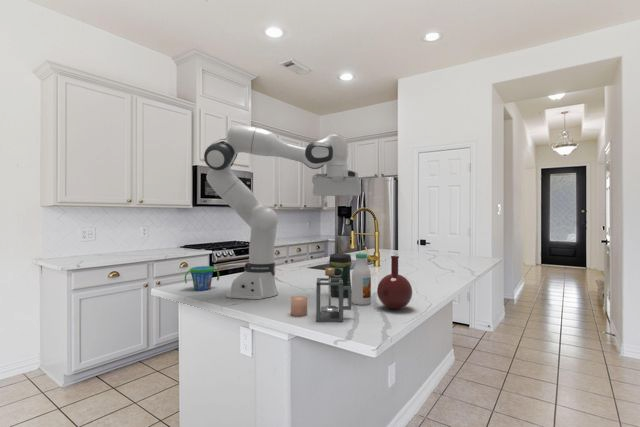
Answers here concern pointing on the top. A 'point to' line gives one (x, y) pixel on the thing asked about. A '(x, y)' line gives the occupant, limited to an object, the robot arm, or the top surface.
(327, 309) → the plunger
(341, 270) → the coffee jar
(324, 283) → the frame
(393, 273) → the round-bottom flask
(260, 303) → the top surface
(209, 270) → the snack cup
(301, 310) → the wooden block
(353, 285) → the milk bottle
